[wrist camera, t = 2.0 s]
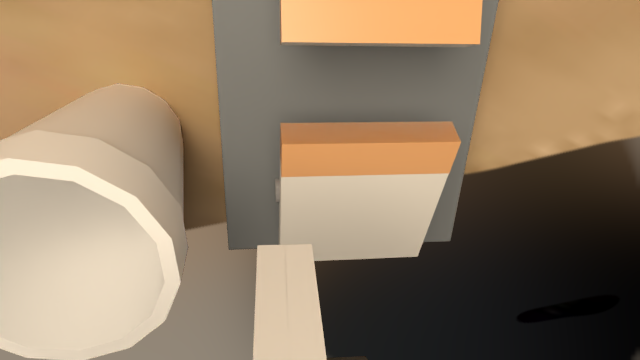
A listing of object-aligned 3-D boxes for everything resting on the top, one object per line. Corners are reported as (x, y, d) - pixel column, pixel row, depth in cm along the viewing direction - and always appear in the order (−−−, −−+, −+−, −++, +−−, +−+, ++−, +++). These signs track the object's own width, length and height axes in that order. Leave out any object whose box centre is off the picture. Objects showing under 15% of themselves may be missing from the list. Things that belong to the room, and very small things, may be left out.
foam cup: (216, 73, 28) (190, 180, 17) (202, 207, 32) (172, 365, 21) (40, 44, 26) (-124, 141, 15) (48, 190, 30) (-75, 352, 19)
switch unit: (231, 214, 33) (227, 266, 28) (205, -216, 22) (190, -253, 17) (433, 207, 34) (463, 256, 30) (504, -194, 24) (569, -223, 19)
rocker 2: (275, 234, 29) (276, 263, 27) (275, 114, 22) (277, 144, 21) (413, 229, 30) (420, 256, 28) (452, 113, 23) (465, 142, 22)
